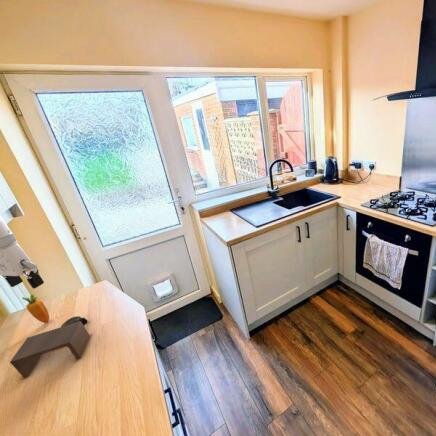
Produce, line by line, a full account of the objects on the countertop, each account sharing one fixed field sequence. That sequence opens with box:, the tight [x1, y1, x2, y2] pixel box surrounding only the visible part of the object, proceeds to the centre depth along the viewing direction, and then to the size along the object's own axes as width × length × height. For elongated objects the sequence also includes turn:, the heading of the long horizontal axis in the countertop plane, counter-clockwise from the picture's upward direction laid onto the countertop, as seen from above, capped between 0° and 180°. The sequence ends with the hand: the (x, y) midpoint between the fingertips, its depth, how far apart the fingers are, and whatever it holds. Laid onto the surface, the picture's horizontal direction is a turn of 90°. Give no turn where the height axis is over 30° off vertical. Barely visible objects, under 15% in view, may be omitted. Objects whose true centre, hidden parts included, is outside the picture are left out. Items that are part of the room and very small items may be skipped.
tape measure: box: [60, 316, 88, 327], centre depth 98 cm, size 7×7×4 cm
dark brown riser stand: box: [9, 321, 91, 379], centre depth 86 cm, size 16×10×8 cm, turn 111°
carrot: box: [21, 293, 50, 324], centre depth 100 cm, size 5×5×15 cm
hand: (28, 285), depth 84 cm, fingers open, 9 cm apart
